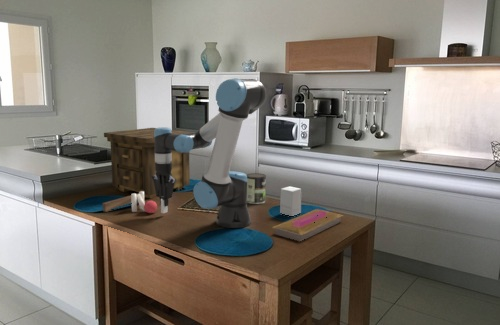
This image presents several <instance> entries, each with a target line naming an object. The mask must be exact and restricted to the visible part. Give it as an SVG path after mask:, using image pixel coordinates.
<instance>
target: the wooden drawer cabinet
mask: <svg viewBox="0 0 500 325" xmlns="http://www.w3.org/2000/svg"><path fill="white" fill-rule="evenodd" d="M156 128H157V127H147V128H139V129H136V128H135V129H129V130H120V131H119V130H118V131H109V132H103V137H104V138H107V142H110V158H111V159H110V160H111V182H112V183H111V184H112V187H113V188H118V191H120V192H129V191H134V192H136V193H139V192H140V191H144V198H148V199H152V198H156V197H157V196H156V191H155V186H154V181H153V179H152V176H154V175H155V174H156V170H155V163H156V162H155V145H154V131H155V129H156ZM171 132H172V133H173V134H185V133H193V132H194V131H186V130H175V129H171ZM171 163H172V170H171V174H172V177H173V178H175V179H176V181H175V183H174V188H173V190H174V189H177V190H176V191H180V190H179V189H181V190H183V189H182V188H184V189H185V187H186V186H189V185H190V183H191V182H190V151H189V152H187V153H184V152H183V153H181V152H177V151H172V161H171Z"/></svg>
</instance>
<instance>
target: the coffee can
mask: <svg viewBox="0 0 500 325" xmlns="http://www.w3.org/2000/svg"><path fill="white" fill-rule="evenodd" d="M246 175H247V182H248V183H247V204H252V205H261V204H265V203H266V186H267V185H266V183H267V182H266V181H267V175H266V174H264V173H259V172H258V173H256V172H254V173H253V172H252V173H246Z"/></svg>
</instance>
